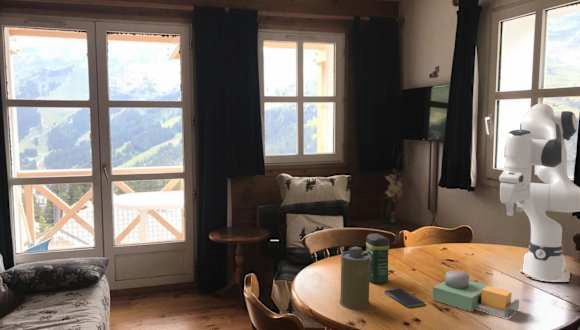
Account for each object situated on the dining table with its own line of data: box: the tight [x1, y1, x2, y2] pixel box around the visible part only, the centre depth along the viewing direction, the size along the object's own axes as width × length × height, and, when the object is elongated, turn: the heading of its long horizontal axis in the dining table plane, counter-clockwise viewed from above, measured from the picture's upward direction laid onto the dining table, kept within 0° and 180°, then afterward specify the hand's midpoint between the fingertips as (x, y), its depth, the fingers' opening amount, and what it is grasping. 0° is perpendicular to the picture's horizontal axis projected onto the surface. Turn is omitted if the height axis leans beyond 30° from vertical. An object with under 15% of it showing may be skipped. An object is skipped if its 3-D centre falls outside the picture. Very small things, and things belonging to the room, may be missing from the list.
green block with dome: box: [432, 270, 492, 312], centre depth 165 cm, size 16×14×9 cm
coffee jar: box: [365, 233, 390, 284], centre depth 184 cm, size 10×8×19 cm
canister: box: [339, 245, 371, 310], centre depth 161 cm, size 11×10×20 cm
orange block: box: [481, 285, 512, 311], centre depth 156 cm, size 5×8×6 cm, turn 45°
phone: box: [383, 288, 426, 309], centre depth 166 cm, size 8×1×15 cm
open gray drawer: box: [475, 298, 520, 320], centre depth 156 cm, size 10×11×4 cm
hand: (514, 213), depth 165 cm, fingers open, 8 cm apart
